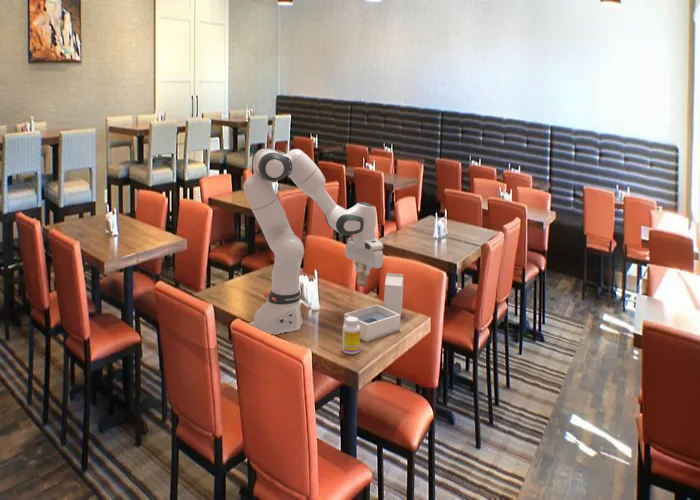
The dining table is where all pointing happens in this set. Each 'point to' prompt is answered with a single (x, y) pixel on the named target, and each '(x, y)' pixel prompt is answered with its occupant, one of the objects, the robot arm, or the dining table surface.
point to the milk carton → (393, 292)
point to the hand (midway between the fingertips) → (362, 272)
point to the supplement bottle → (351, 336)
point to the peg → (361, 274)
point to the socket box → (375, 321)
